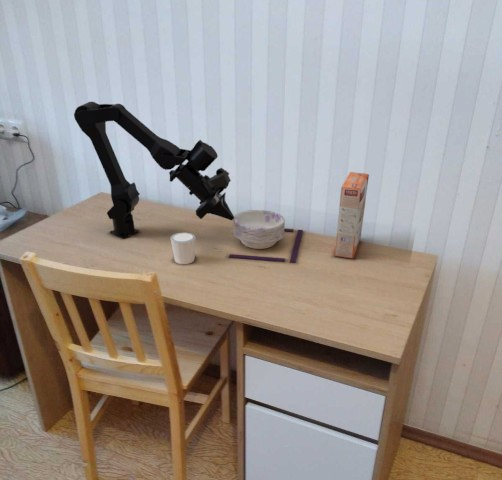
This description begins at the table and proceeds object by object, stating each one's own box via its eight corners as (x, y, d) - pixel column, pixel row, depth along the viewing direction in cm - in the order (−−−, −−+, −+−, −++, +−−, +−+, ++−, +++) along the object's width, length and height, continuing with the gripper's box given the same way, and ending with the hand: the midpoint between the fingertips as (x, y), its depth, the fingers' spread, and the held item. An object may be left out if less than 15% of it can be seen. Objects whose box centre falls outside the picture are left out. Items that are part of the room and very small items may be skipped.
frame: (228, 257, 152) (228, 256, 152) (243, 226, 171) (243, 225, 171) (295, 262, 150) (295, 261, 149) (302, 231, 168) (302, 229, 168)
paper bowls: (291, 237, 164) (292, 213, 160) (273, 257, 152) (273, 231, 148) (246, 229, 170) (245, 205, 165) (225, 248, 158) (224, 223, 154)
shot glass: (172, 254, 154) (170, 232, 150) (196, 253, 155) (195, 231, 151) (171, 265, 148) (169, 242, 145) (196, 264, 149) (195, 241, 145)
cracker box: (354, 259, 151) (362, 188, 140) (333, 256, 153) (339, 186, 142) (362, 240, 162) (370, 172, 151) (342, 237, 164) (348, 170, 153)
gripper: (204, 172, 143) (245, 213, 147) (220, 153, 158) (257, 190, 162) (178, 199, 148) (219, 238, 152) (196, 178, 164) (232, 213, 168)
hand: (233, 219), depth 158 cm, fingers closed, pressing on paper bowls
